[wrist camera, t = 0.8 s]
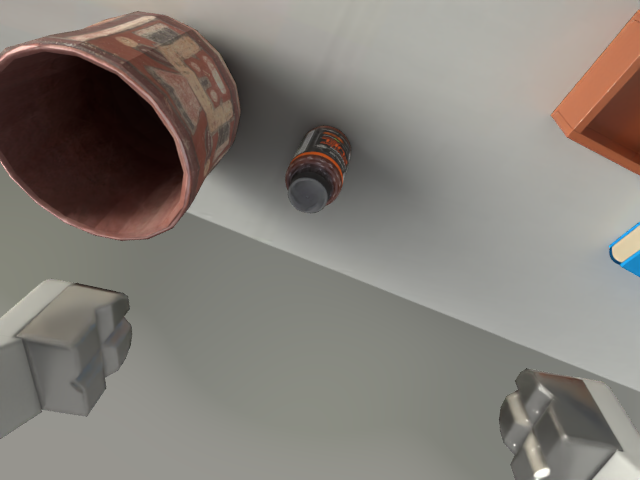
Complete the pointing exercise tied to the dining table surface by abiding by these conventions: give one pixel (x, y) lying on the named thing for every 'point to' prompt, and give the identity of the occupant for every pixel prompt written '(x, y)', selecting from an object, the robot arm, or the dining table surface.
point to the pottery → (116, 122)
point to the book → (628, 250)
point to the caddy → (608, 102)
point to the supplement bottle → (318, 169)
